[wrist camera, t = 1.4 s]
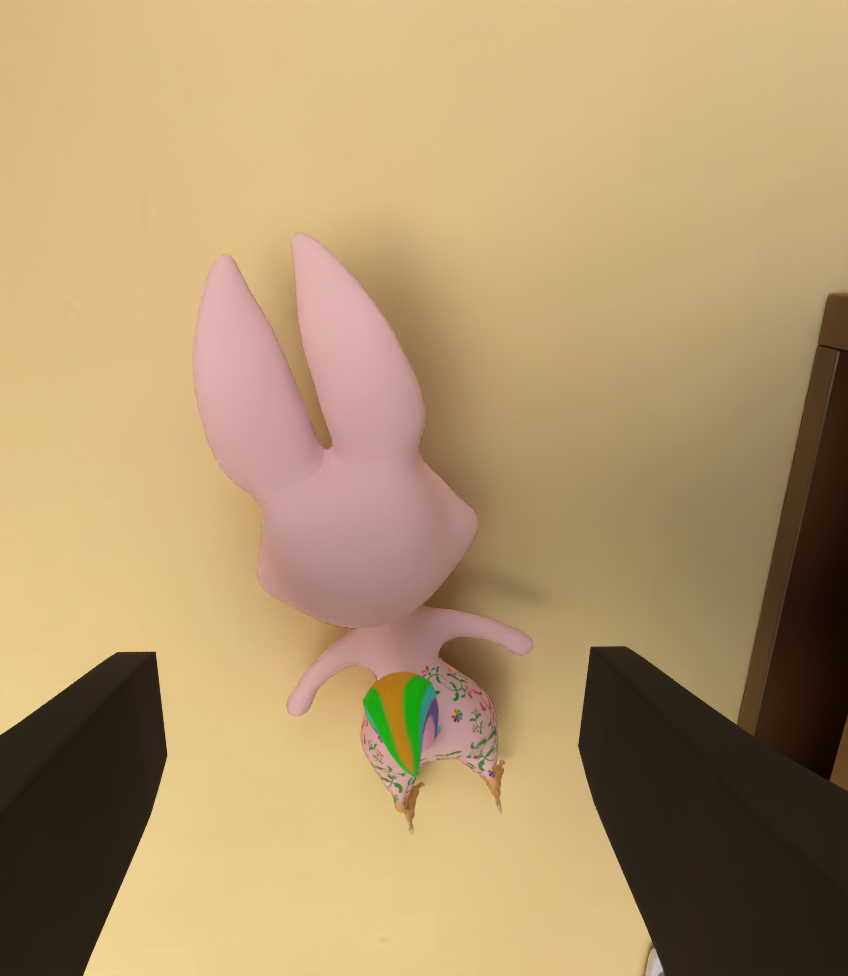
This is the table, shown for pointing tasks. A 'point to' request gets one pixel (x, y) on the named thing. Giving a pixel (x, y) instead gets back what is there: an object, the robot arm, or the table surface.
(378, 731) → the rabbit figure
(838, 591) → the wooden cubby shelf
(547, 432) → the table surface
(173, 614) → the table surface
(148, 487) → the table surface
